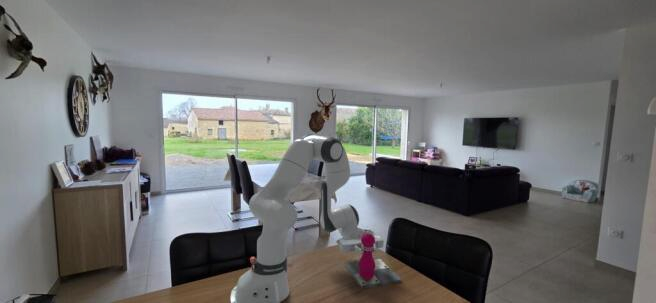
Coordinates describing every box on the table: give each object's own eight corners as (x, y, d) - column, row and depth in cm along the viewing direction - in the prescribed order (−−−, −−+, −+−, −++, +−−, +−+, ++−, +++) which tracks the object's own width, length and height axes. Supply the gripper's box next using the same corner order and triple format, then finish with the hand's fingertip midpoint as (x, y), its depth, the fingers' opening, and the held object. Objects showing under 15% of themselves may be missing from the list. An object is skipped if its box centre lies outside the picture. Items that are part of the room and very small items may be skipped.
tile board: (361, 288, 113) (361, 285, 112) (344, 265, 131) (344, 263, 130) (401, 281, 118) (401, 279, 118) (380, 260, 136) (380, 258, 136)
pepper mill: (374, 281, 114) (376, 234, 112) (357, 278, 116) (359, 233, 114) (375, 271, 121) (377, 228, 119) (358, 269, 123) (360, 226, 121)
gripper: (335, 233, 126) (346, 247, 113) (375, 229, 132) (390, 241, 119) (334, 247, 127) (345, 261, 114) (374, 242, 133) (389, 255, 120)
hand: (368, 251), depth 116 cm, fingers closed on pepper mill, 5 cm apart
